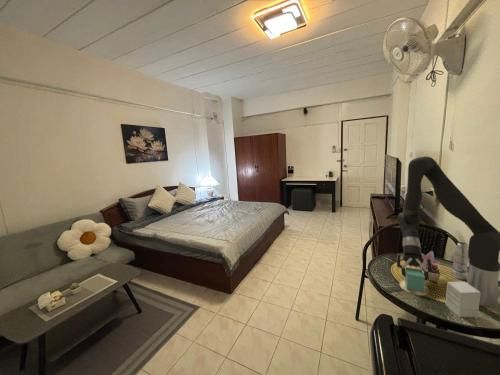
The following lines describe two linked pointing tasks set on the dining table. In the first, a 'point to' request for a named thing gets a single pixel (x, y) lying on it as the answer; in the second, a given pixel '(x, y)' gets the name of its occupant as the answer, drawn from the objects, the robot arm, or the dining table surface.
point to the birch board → (426, 291)
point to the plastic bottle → (460, 261)
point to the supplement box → (463, 299)
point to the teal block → (414, 279)
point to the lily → (431, 257)
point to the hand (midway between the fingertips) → (415, 278)
